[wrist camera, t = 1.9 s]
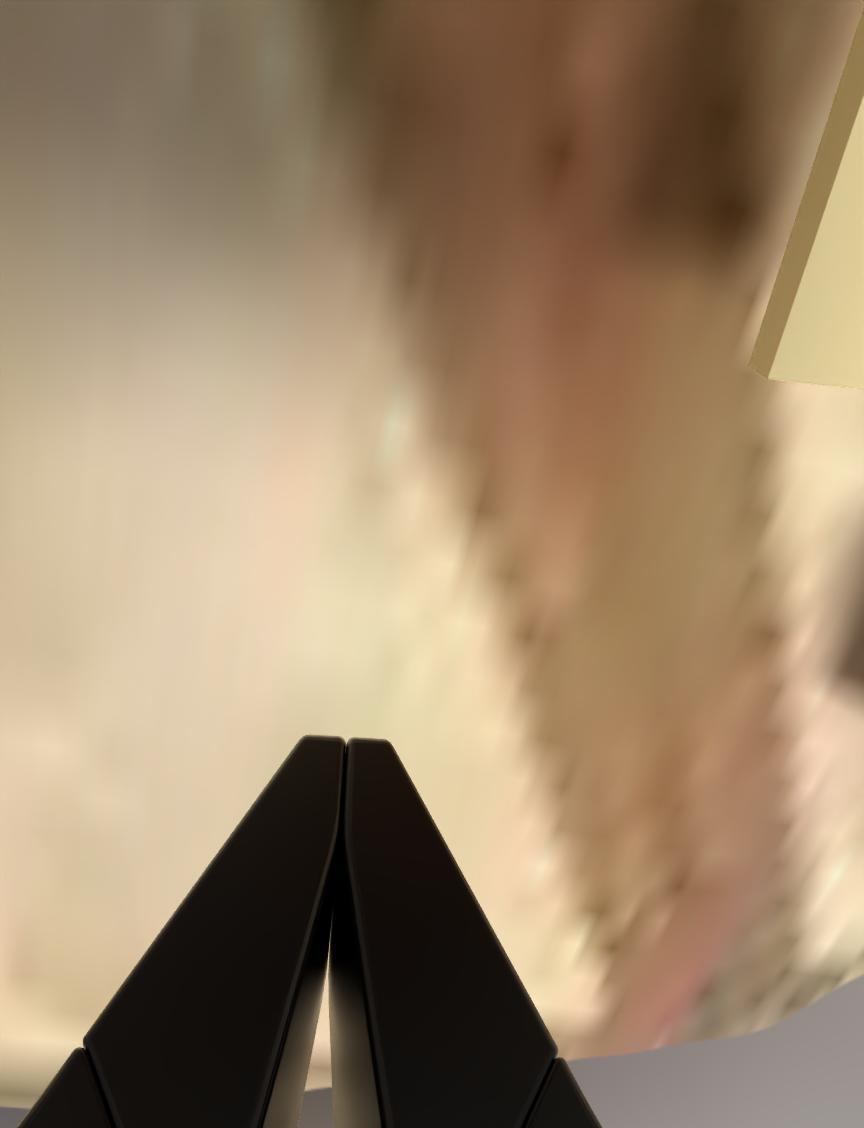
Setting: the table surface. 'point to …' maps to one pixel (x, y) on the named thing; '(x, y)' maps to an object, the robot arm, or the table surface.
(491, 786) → the table surface
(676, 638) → the table surface
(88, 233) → the table surface
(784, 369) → the lever
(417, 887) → the robot arm
